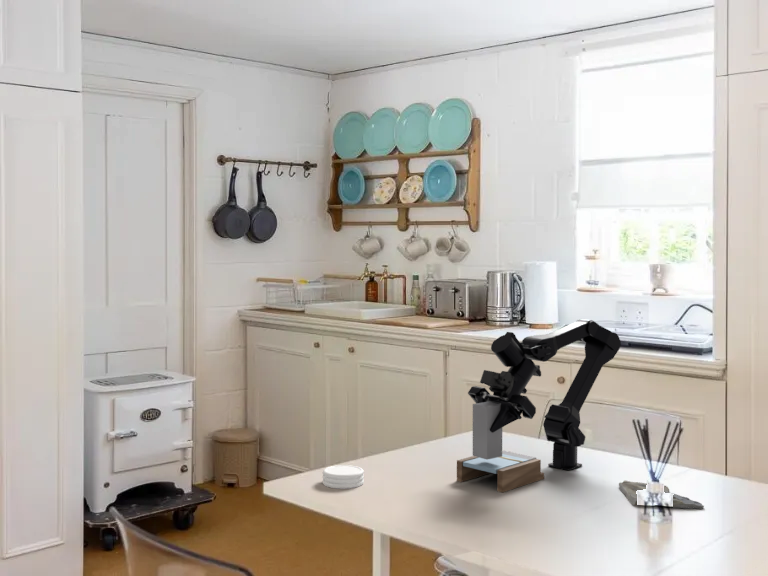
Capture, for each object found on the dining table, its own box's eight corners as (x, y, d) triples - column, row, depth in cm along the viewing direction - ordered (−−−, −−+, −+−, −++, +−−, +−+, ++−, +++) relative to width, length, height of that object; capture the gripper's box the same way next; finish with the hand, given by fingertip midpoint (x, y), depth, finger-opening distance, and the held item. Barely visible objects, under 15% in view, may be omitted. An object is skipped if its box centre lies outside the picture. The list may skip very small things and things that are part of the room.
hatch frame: (544, 478, 221) (544, 458, 221) (502, 492, 210) (502, 471, 210) (498, 468, 231) (499, 448, 231) (456, 480, 220) (456, 460, 219)
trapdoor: (536, 469, 222) (536, 456, 222) (495, 482, 211) (495, 468, 211) (503, 462, 229) (504, 449, 229) (463, 474, 218) (463, 461, 218)
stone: (487, 452, 220) (488, 401, 219) (502, 456, 216) (502, 404, 215) (472, 455, 217) (472, 404, 216) (486, 459, 213) (487, 407, 212)
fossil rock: (615, 488, 215) (615, 479, 215) (678, 489, 215) (678, 479, 215) (635, 511, 197) (636, 500, 197) (704, 511, 197) (704, 500, 197)
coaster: (335, 492, 211) (335, 477, 211) (315, 482, 219) (315, 468, 219) (371, 485, 216) (371, 471, 216) (350, 476, 225) (350, 462, 225)
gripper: (473, 353, 225) (439, 402, 219) (527, 362, 210) (492, 415, 204) (496, 381, 230) (464, 430, 224) (550, 392, 215) (517, 444, 209)
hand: (483, 429), depth 215 cm, fingers closed on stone, 5 cm apart
